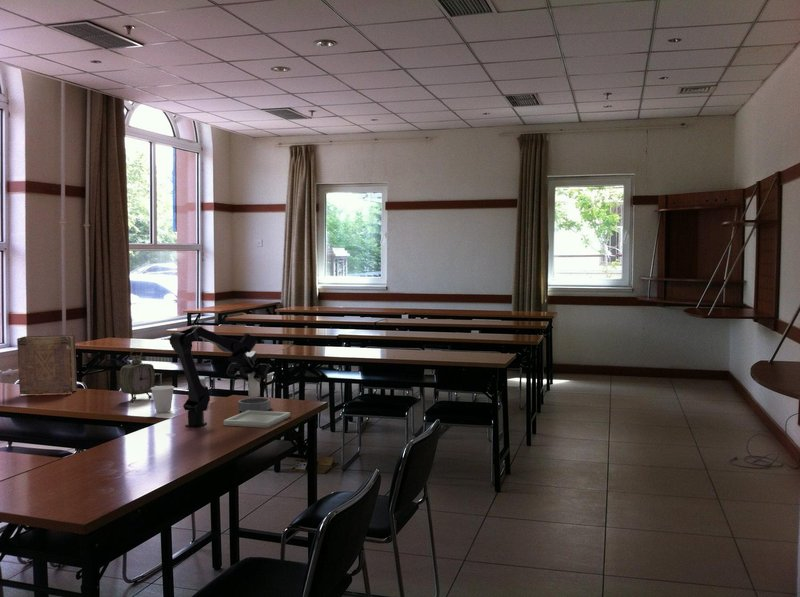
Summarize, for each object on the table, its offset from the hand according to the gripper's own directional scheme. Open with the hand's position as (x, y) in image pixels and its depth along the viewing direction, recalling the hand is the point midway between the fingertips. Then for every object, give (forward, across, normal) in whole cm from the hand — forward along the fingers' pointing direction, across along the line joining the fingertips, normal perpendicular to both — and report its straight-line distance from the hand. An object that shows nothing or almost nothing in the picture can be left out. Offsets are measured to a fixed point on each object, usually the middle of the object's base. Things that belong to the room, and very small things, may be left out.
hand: (254, 381), depth 316 cm
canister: (+4, 0, +5) cm, 7 cm away
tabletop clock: (+14, +68, +5) cm, 69 cm away
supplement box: (+11, +32, +7) cm, 35 cm away
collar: (+8, 0, +10) cm, 13 cm away
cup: (-1, +38, +20) cm, 43 cm away
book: (+17, +126, +2) cm, 127 cm away
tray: (-6, -13, +24) cm, 28 cm away
